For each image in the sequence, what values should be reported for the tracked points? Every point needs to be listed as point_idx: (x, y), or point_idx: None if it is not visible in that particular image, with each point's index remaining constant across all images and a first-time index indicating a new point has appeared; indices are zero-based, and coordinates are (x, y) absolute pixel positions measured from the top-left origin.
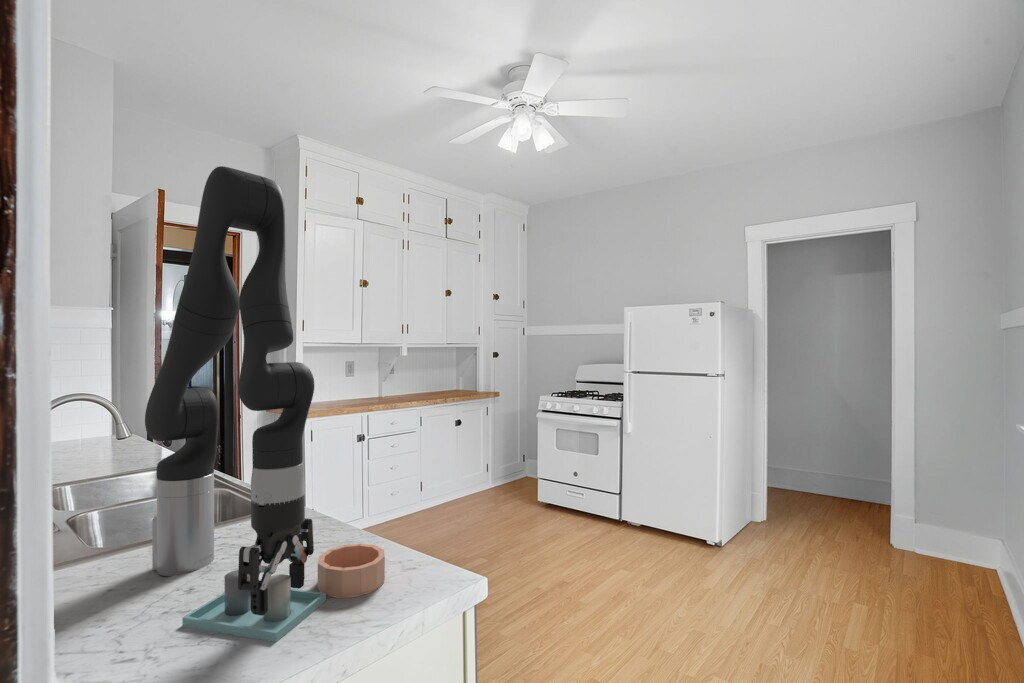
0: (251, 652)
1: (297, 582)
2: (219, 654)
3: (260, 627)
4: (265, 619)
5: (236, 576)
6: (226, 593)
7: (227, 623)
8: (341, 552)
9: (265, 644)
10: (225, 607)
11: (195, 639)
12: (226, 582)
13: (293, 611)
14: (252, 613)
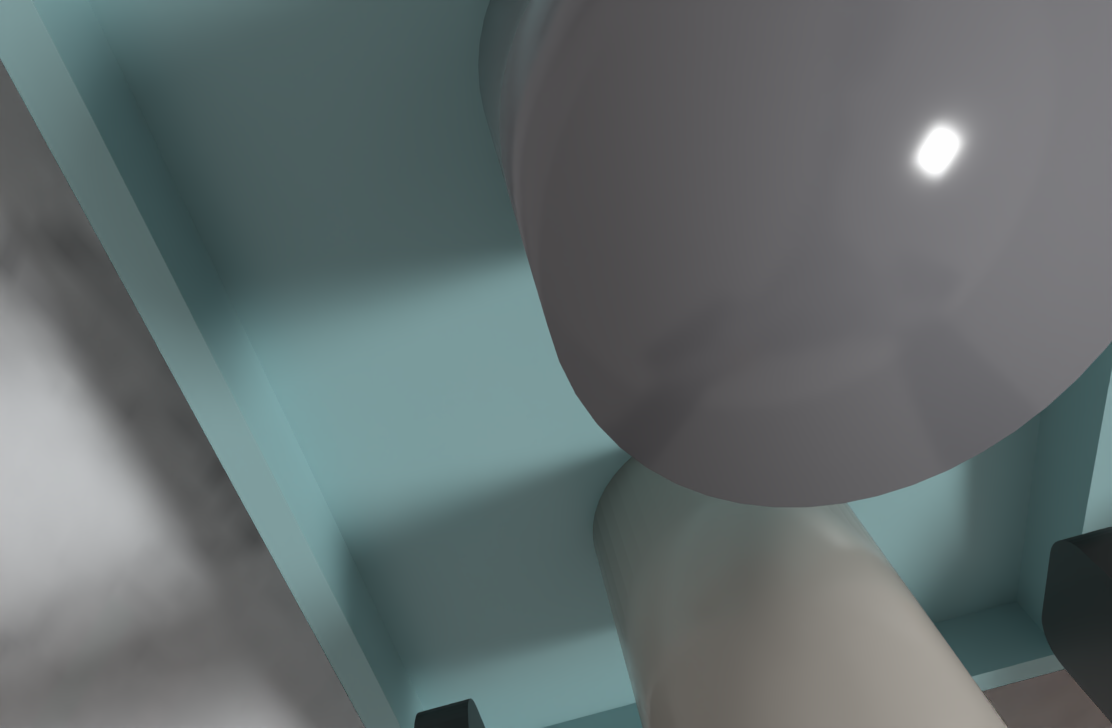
0: (279, 689)
1: (1094, 657)
2: (88, 558)
3: (497, 565)
4: (596, 529)
5: (774, 298)
6: (507, 121)
7: (253, 459)
8: None
9: None
10: (490, 38)
11: (4, 140)
12: (526, 203)
13: None
14: None
